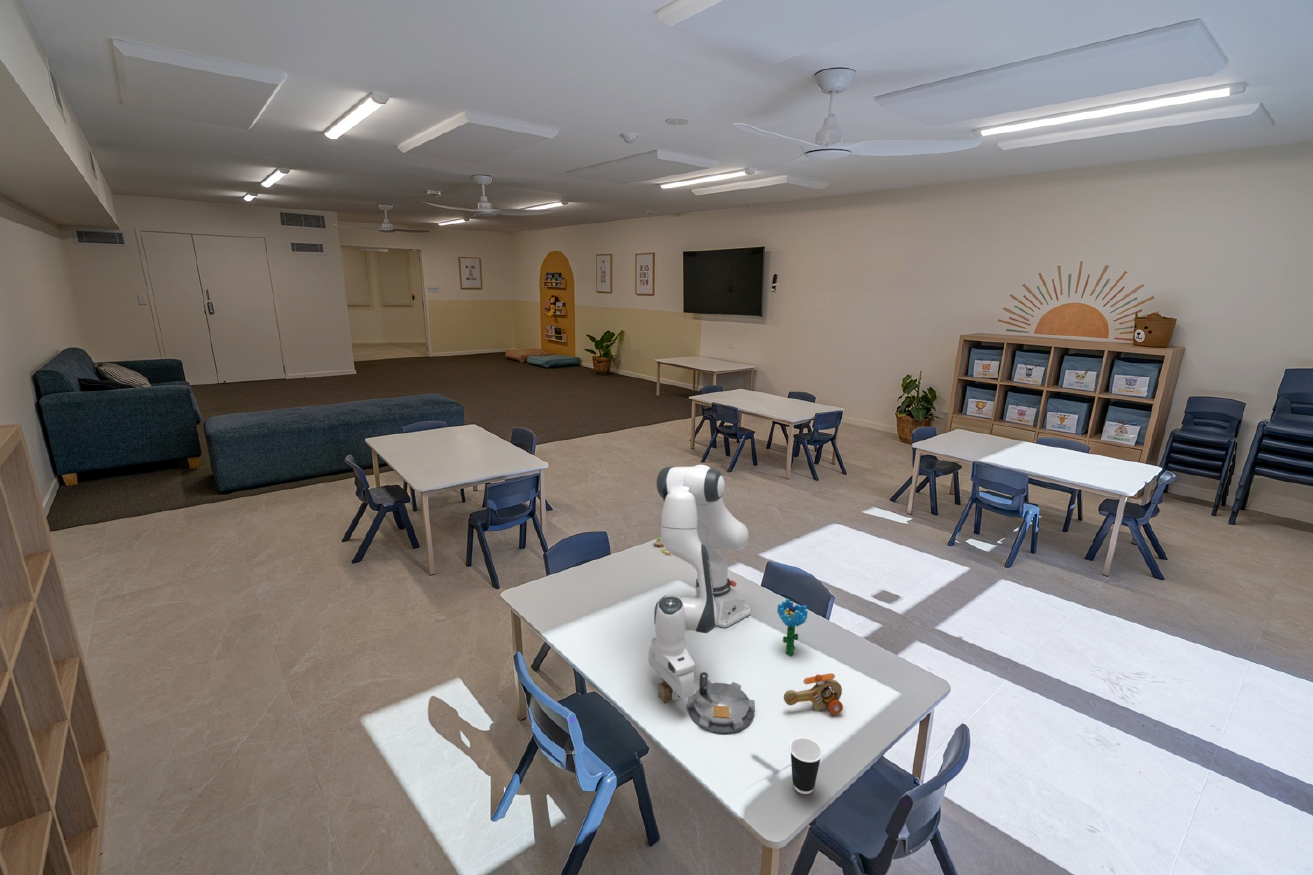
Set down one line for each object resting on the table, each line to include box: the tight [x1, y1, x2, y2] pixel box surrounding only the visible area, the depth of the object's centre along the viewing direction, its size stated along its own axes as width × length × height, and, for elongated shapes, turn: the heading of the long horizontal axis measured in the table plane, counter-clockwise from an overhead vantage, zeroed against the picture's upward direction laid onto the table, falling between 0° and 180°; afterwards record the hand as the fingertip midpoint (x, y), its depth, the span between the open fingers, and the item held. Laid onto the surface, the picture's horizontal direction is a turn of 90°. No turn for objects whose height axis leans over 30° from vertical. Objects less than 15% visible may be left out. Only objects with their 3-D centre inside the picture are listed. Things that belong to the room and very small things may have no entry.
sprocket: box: [687, 671, 756, 730], centre depth 166 cm, size 18×19×8 cm
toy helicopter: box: [783, 672, 844, 715], centre depth 167 cm, size 7×18×12 cm, turn 101°
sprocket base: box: [687, 693, 755, 735], centre depth 168 cm, size 19×19×1 cm
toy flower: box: [777, 598, 809, 657], centre depth 193 cm, size 9×9×18 cm
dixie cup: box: [788, 736, 824, 795], centre depth 140 cm, size 8×8×11 cm
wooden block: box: [657, 681, 681, 705], centre depth 172 cm, size 6×4×5 cm, turn 121°
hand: (669, 693), depth 172 cm, fingers closed on wooden block, 3 cm apart
